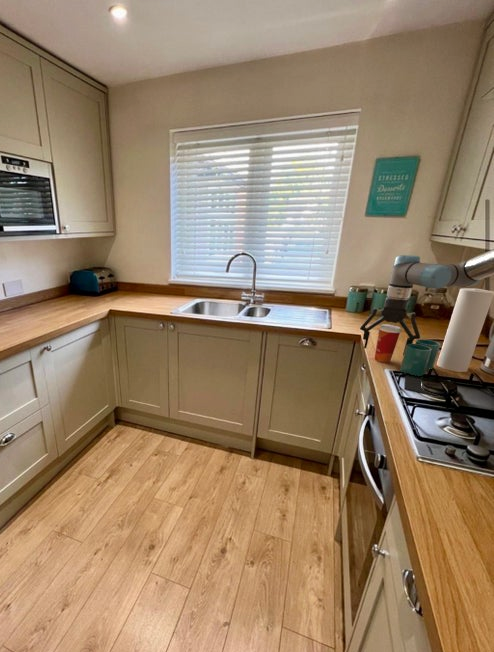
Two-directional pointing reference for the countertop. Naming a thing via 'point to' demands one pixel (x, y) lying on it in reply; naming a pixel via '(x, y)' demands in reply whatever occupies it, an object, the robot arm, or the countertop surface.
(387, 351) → the paper cup
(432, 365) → the teal cup
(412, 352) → the teal cup
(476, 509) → the countertop surface
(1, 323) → the countertop surface
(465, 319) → the paper towel roll
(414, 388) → the mat
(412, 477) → the countertop surface
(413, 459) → the countertop surface
